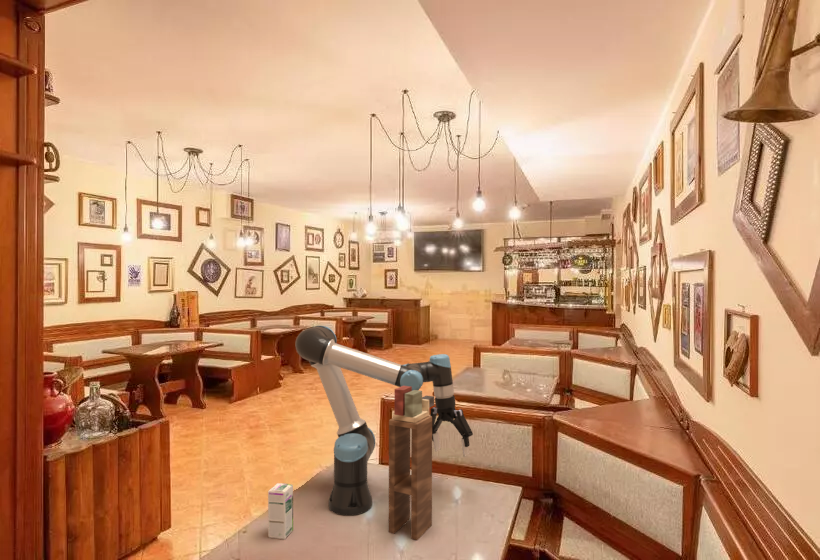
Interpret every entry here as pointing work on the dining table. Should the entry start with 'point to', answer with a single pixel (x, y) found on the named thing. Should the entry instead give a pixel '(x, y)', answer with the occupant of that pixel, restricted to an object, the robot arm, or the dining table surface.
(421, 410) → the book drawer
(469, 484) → the dining table surface
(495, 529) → the dining table surface
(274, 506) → the syrup box
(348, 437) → the robot arm
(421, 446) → the walnut shelf
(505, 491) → the dining table surface
